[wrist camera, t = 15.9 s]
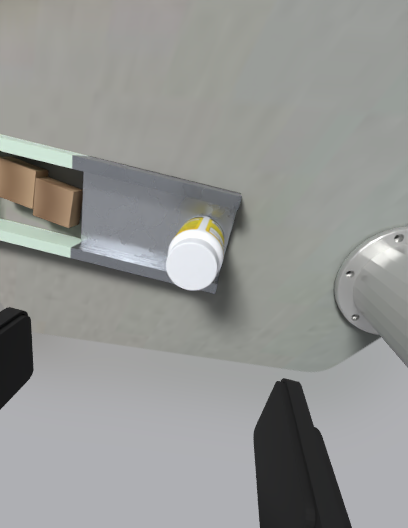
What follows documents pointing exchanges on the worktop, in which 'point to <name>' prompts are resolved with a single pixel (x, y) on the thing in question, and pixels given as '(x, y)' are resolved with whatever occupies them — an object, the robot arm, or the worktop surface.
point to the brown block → (57, 202)
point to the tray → (30, 234)
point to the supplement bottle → (196, 253)
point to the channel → (142, 215)
